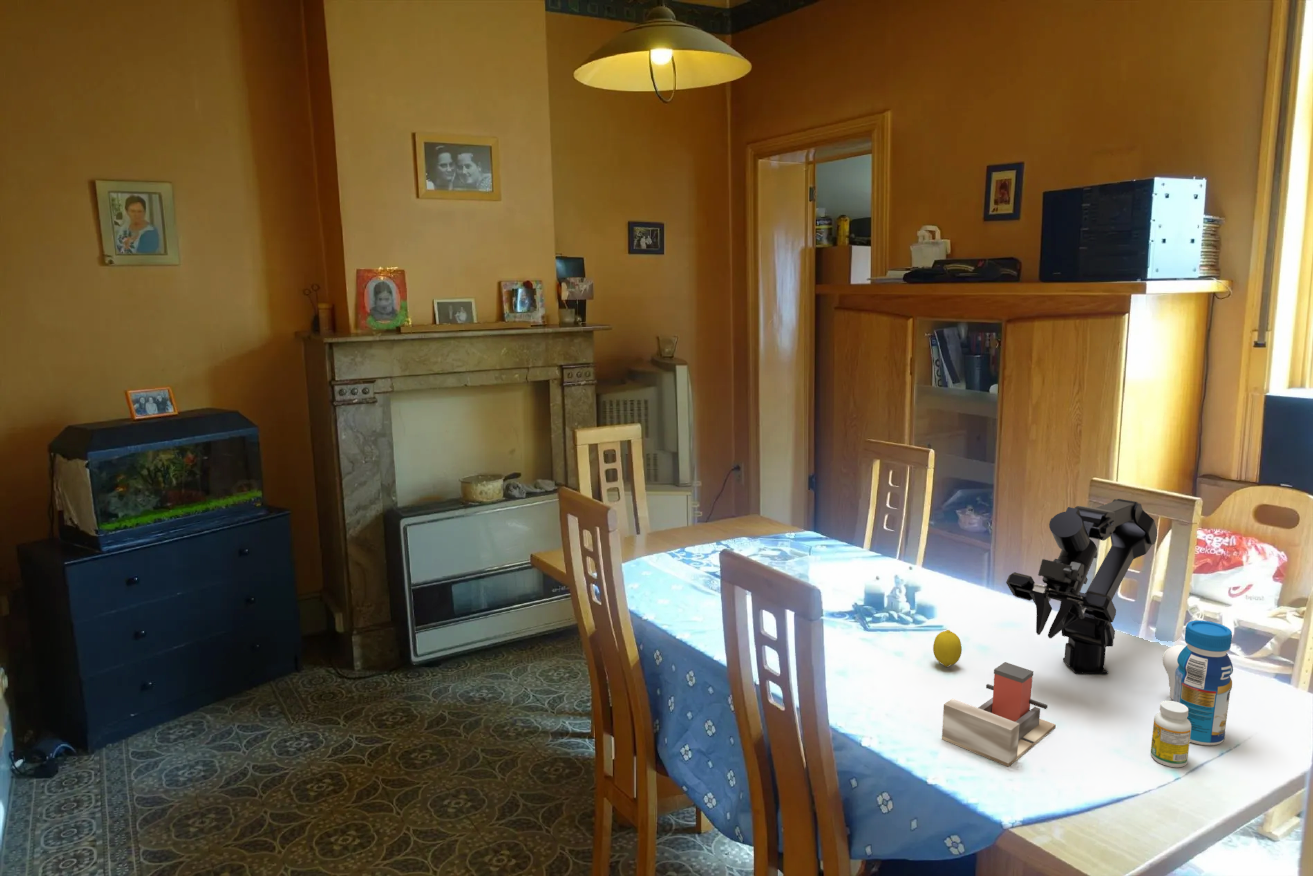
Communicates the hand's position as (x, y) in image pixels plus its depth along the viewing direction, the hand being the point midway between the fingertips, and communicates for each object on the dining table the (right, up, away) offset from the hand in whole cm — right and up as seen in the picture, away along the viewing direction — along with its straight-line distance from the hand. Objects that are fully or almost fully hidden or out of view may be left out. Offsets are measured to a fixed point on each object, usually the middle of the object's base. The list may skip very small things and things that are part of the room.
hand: (1043, 635), depth 163 cm
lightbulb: (+26, -13, +3) cm, 30 cm away
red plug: (-8, -15, -5) cm, 18 cm away
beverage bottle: (+23, -16, -9) cm, 29 cm away
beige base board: (-11, -16, -8) cm, 21 cm away
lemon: (-12, -11, +18) cm, 24 cm away
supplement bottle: (+14, -17, -16) cm, 27 cm away
